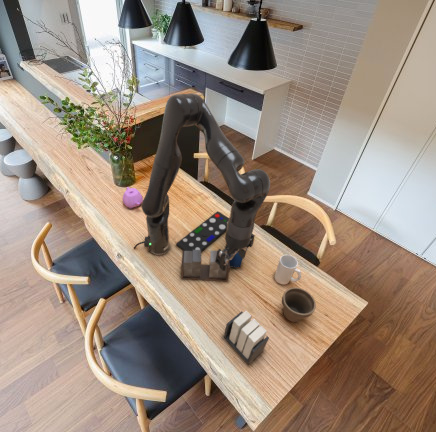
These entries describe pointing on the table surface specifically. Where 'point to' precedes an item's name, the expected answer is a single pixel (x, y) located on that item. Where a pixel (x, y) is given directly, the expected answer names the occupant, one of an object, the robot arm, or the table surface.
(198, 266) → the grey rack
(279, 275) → the mug
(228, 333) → the dark book holder
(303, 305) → the flower pot
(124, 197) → the teapot
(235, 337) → the white book
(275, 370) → the table surface
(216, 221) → the remote control
